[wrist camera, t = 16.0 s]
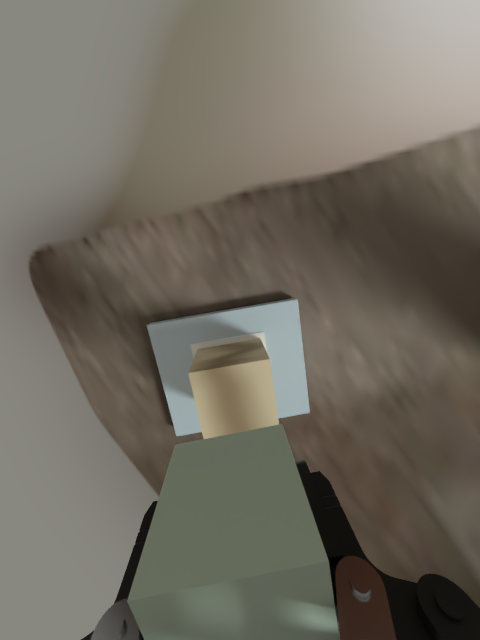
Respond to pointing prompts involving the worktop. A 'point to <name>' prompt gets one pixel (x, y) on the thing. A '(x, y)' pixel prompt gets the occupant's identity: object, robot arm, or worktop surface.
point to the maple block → (233, 388)
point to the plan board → (224, 328)
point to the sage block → (234, 547)
